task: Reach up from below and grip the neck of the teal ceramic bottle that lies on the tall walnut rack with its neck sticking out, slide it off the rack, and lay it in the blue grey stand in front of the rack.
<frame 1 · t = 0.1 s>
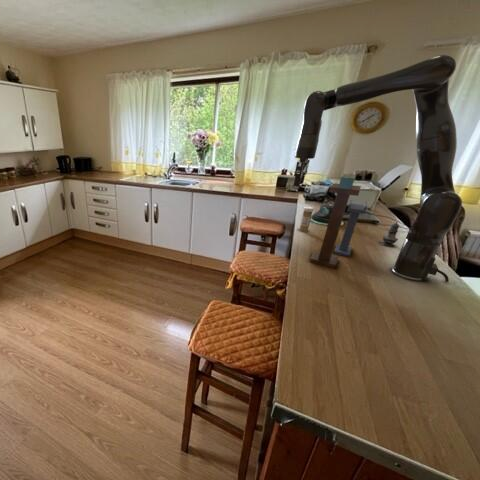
hand: (298, 185, 113), 29 cm above the worktop, tool pointing down, fingers open, 8 cm apart
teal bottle: (345, 186, 96), point 32 cm above the worktop, touching walnut rack
walnut rack: (323, 261, 109), on the worktop
dark green shoe: (324, 220, 161), on the worktop
sprinkles bottle: (303, 230, 143), on the worktop
dark grey figurine: (387, 245, 126), on the worktop
blue grey stand: (342, 251, 118), on the worktop
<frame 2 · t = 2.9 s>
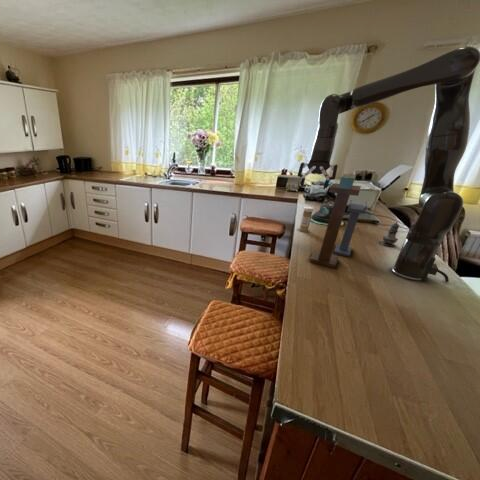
hand: (313, 187, 113), 28 cm above the worktop, tool pointing down, fingers open, 8 cm apart
nothing on the worktop moved.
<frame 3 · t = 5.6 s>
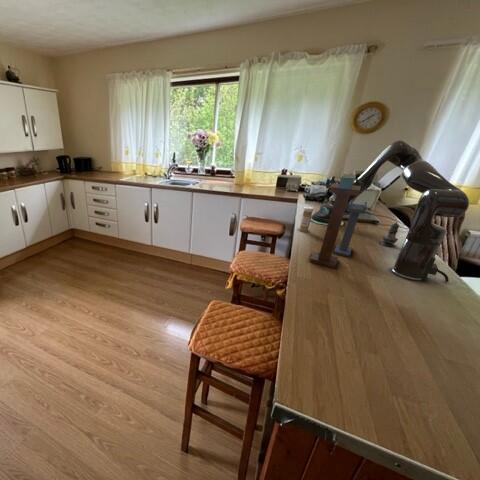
hand: (345, 179, 112), 32 cm above the worktop, tool pointing upward, fingers open, 8 cm apart
nothing on the worktop moved.
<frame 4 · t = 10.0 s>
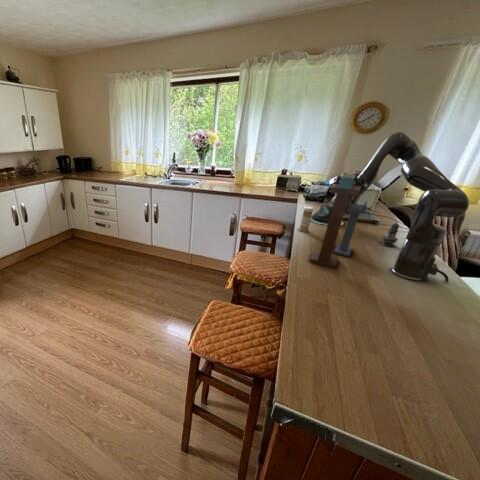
hand: (349, 175, 100), 35 cm above the worktop, tool pointing upward, fingers closed on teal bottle, 2 cm apart
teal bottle: (345, 186, 96), point 32 cm above the worktop, touching gripper, walnut rack
everything else where it was.
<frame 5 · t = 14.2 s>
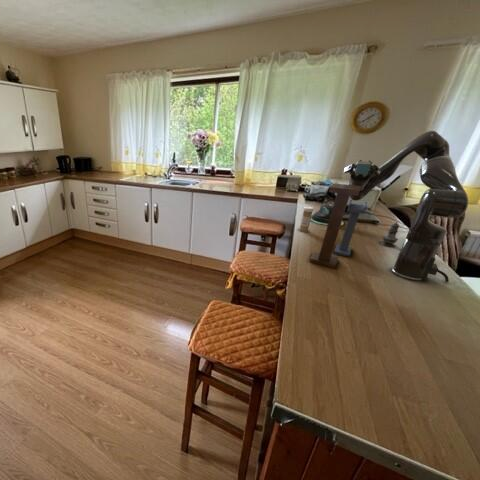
hand: (364, 162, 107), 39 cm above the worktop, tool pointing upward, fingers closed on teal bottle, 2 cm apart
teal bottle: (361, 172, 103), point 36 cm above the worktop, touching gripper
everything else where it was.
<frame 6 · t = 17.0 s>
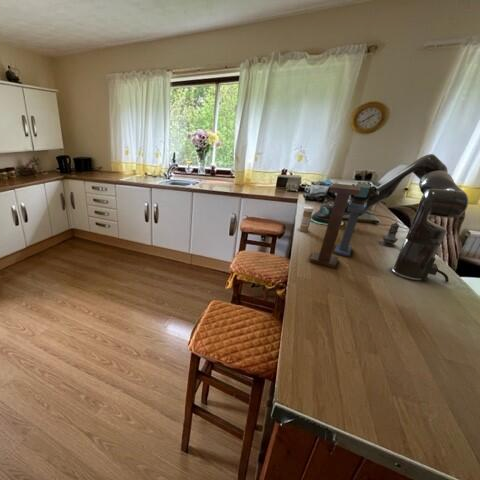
hand: (363, 184, 112), 30 cm above the worktop, tool pointing upward, fingers closed on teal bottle, 2 cm apart
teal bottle: (360, 194, 108), point 27 cm above the worktop, touching gripper
everything else where it was.
when the fingers open (25 cm above the worktop, at t = 18.7 s): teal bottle stays where it is, resting on blue grey stand.
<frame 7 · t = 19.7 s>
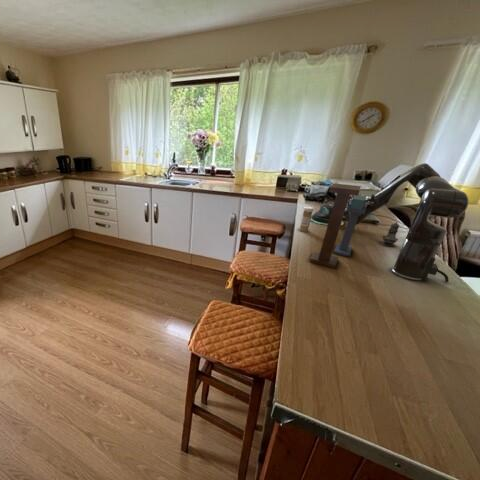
hand: (360, 194, 114), 25 cm above the worktop, tool pointing upward, fingers open, 8 cm apart
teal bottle: (356, 206, 110), point 21 cm above the worktop, touching blue grey stand
everything else where it was.
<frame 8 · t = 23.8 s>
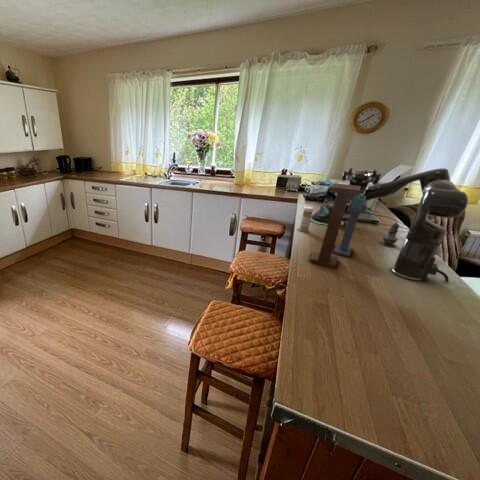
hand: (362, 170, 116), 35 cm above the worktop, tool pointing upward, fingers open, 8 cm apart
nothing on the worktop moved.
at the end: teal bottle 0.1 cm off-centre on the blue grey stand, point 21.5 cm above the blue grey stand's base; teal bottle tilted 0°; the gripper is holding nothing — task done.
